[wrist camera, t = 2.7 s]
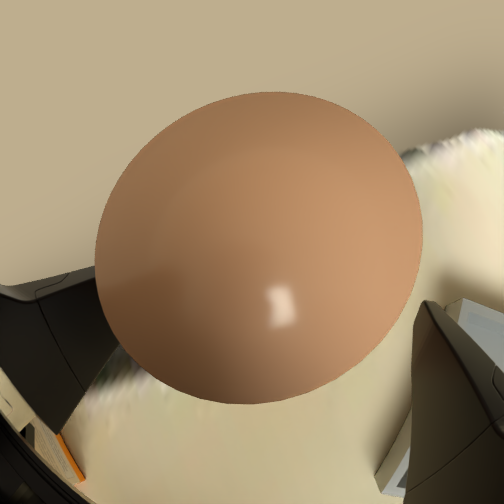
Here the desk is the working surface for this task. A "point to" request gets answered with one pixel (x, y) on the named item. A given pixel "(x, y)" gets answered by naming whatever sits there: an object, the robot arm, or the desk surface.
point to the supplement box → (55, 452)
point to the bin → (396, 462)
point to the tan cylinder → (258, 248)
